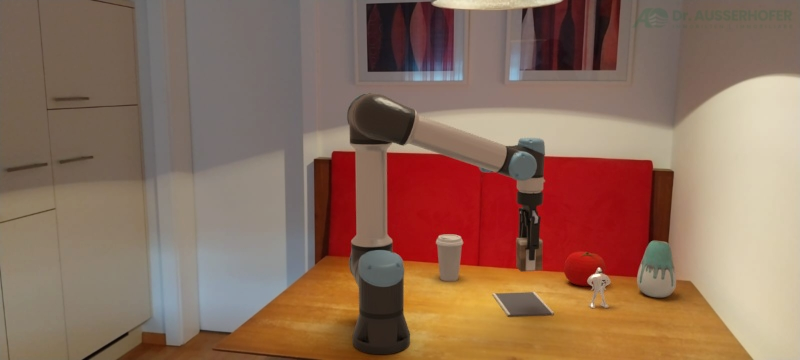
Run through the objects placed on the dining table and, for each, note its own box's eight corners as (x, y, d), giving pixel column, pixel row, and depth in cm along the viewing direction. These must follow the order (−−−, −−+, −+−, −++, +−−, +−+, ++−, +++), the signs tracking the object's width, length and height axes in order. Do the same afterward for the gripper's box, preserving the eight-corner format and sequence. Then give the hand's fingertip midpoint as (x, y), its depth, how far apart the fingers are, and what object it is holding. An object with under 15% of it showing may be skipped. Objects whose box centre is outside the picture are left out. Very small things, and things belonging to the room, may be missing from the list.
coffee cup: (430, 276, 209) (430, 235, 207) (453, 272, 213) (453, 232, 211) (444, 284, 201) (445, 241, 198) (468, 280, 205) (468, 238, 203)
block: (542, 270, 174) (542, 240, 173) (520, 271, 174) (520, 242, 172) (537, 265, 179) (537, 236, 177) (516, 267, 178) (516, 238, 177)
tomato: (560, 277, 208) (561, 246, 206) (600, 278, 207) (602, 247, 205) (566, 289, 196) (568, 256, 194) (609, 290, 195) (611, 257, 193)
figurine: (588, 308, 179) (590, 270, 177) (583, 303, 183) (585, 266, 181) (611, 308, 179) (613, 270, 178) (606, 303, 184) (608, 265, 182)
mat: (554, 314, 174) (554, 312, 174) (507, 316, 173) (507, 314, 172) (534, 293, 192) (534, 291, 191) (492, 295, 190) (492, 293, 190)
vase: (650, 286, 199) (654, 234, 196) (682, 296, 190) (686, 242, 187) (628, 292, 193) (632, 239, 190) (660, 303, 183) (664, 247, 181)
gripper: (553, 196, 164) (549, 276, 168) (533, 185, 181) (530, 258, 185) (526, 196, 163) (524, 277, 167) (509, 186, 181) (507, 259, 184)
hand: (527, 267), depth 176 cm, fingers closed on block, 4 cm apart
